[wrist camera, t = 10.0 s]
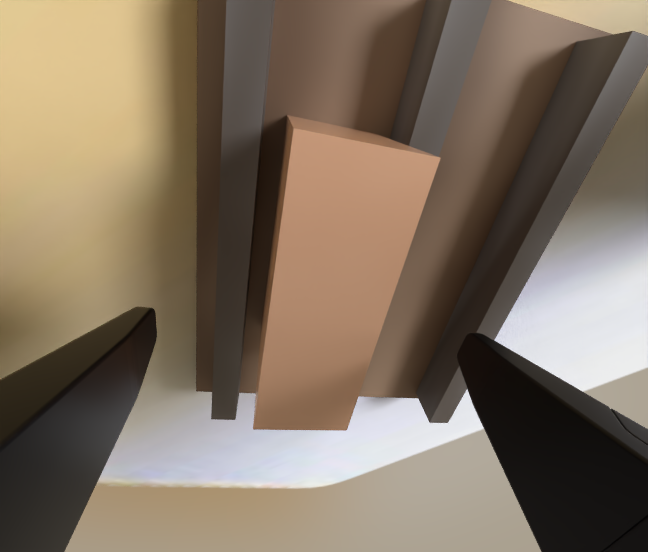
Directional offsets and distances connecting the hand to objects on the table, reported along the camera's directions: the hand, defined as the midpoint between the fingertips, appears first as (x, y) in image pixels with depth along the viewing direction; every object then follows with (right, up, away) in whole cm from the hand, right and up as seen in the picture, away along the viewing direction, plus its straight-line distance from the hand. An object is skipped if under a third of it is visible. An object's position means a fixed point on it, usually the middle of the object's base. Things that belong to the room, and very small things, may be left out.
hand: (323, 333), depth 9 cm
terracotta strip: (-1, +3, +6) cm, 7 cm away
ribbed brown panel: (+2, +3, +7) cm, 8 cm away
